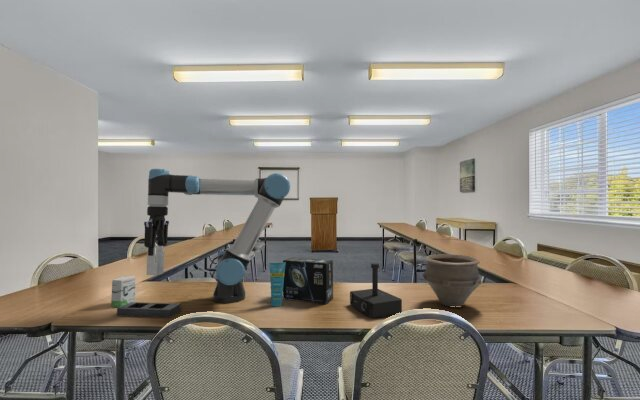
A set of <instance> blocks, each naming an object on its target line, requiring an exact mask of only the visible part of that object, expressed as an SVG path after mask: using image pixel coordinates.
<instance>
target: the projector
mask: <svg viewBox="0 0 640 400" xmlns="http://www.w3.org/2000/svg"><path fill="white" fill-rule="evenodd" d="M370 268H372V269H371V270H372V273H371V274H372V275H371V276H372V280H371V282H372V284H371V287H372V288H367V289H359V290H351V291H349V304H350V305H351V306H352V305H353V308H354V309H356V310H357V311H359V312H360V311H361V313H363V314H364V315H366V316H369V317H371V318H373V319H377V318H382V317H390V316H394V315H393V314H396V313H399V312H402V313H403V305H402V303H403V300H402V299H401V298H400V297H397V296H395V295H393V294H390V293H389V292H386V291H384V290H382V289H379V288H378V287H379V286H378V285H379V281H378V280H379V275H378V273H379V270H378V269H379V268H380V263H378V262H372V263H370ZM396 315H397V314H396Z"/></svg>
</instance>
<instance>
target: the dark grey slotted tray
mask: <svg viewBox="0 0 640 400" xmlns="http://www.w3.org/2000/svg"><path fill="white" fill-rule="evenodd" d="M181 308H182V306H181V303H173V302H171V303H170V302H168V303H167V302H142V301H141V302H138V301H137V302H136V301H135V302H130V303H128V304H126V305H124V306H121V307H116V316H117V317H136V318H137V317H138V318H139V317H140V318H141V317H143V318H145V317H146V318H168V319H169V318H171V317H173V316H174V315H176V314H178V313H179V312H181Z"/></svg>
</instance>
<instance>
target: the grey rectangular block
mask: <svg viewBox="0 0 640 400" xmlns="http://www.w3.org/2000/svg"><path fill="white" fill-rule="evenodd" d="M164 266H165V251H164V250H163V251H156V261H155V264H148V252H147V253H146V275H147V276H159V275H162V274H164V273H165V272H164V270H165V269H164V268H165V267H164ZM146 275H145V276H146Z"/></svg>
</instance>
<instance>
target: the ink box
mask: <svg viewBox="0 0 640 400" xmlns="http://www.w3.org/2000/svg"><path fill="white" fill-rule="evenodd" d="M136 282H137V277H136V276H133V275H132V276H131V275H126V276H122V277H118V278H114V279H112V281H111V298H110V299H111V302H110V307H112V308H119V307H121V306H124V305H126V304H128V303H130V302H136V285H137V284H136Z"/></svg>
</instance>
